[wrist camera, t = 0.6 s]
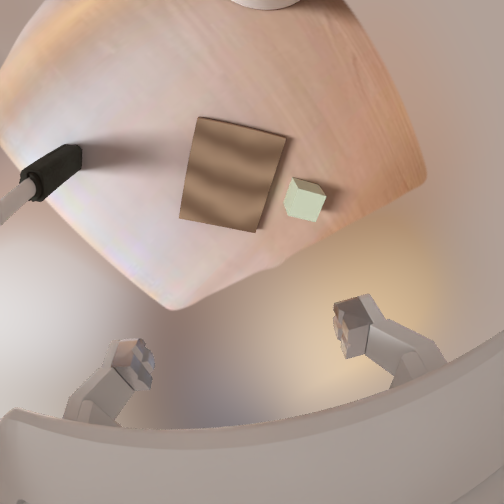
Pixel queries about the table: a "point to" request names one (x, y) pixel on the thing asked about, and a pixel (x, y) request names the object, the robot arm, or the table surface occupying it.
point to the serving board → (229, 174)
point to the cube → (304, 200)
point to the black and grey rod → (42, 179)
